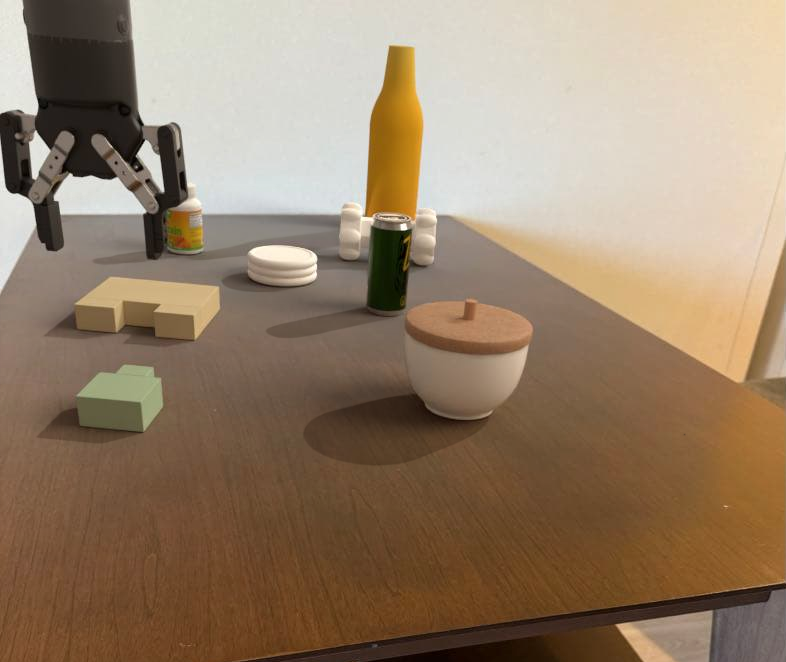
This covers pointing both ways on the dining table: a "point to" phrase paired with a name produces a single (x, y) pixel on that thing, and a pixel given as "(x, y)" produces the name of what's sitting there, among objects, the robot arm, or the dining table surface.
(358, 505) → the dining table surface
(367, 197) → the beer bottle
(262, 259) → the coaster
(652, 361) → the dining table surface
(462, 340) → the lidded bowl
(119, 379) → the pad
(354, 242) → the dog bone
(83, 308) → the notch pad
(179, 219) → the supplement bottle
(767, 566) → the dining table surface
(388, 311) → the beer can
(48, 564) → the dining table surface
